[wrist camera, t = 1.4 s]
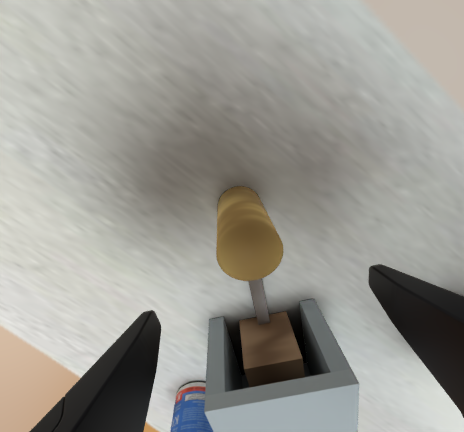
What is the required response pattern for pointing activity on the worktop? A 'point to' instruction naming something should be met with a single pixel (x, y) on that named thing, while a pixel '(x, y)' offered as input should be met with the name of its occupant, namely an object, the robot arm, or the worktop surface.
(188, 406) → the pill bottle
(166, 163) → the worktop surface
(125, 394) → the robot arm
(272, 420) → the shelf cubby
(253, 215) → the block
